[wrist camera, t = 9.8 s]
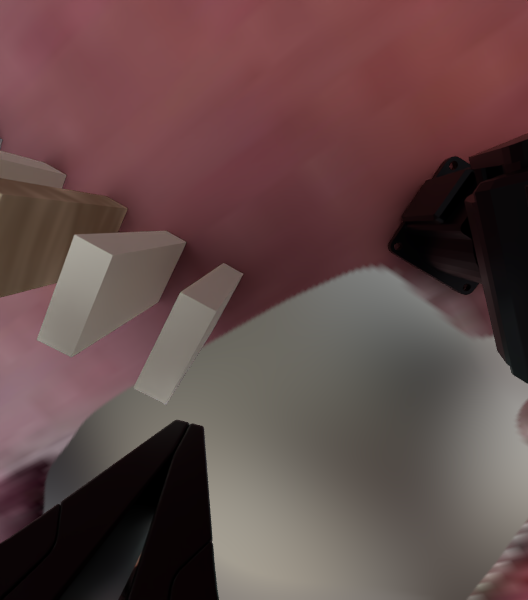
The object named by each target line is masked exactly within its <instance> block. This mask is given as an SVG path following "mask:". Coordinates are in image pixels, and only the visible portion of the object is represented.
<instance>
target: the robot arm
mask: <svg viewBox="0 0 528 600" xmlns="http://www.w3.org/2000/svg"><path fill="white" fill-rule="evenodd" d="M469 161H470V164H468V163H467V162H465V161H464V160H462V159H461V158H459V157H456V156H455V157H451V158H448V159H446V160H445V161H444V162H443V163H442V165H441V166H440V168H439V169H438V171H437V172H436V174H435V175H434V177H433V178H432V179H430V180H427V181H425V183H424V184H423V186H422V187H421V189H420V190H419V192H418V193H417V195H416V196H415V198H414V199H413V201H412V202H411V204H410V205H409V207H408V208H407V210H406V211H405V213H404V214H403V216H402V221H403V223H402V224H401V226H400V227H399V229H398V230H397V232H396V233H395V235H394V236H393V238H392V239H391V241H390V242H389V244H388V249H389V251H390V252H391V253H393V254H395V255H396V256H398V257H400V258H401V259H403V260H405V261H406V262H408V263H410V264H411V265H413V266H415V267H416V268H418V269H420V270H422V271H423V272H425V273H427V274H428V275H430V276H432V277H433V278H435V279H437V280H438V281H440V282H442V283H443V284H445V285H447V286H448V287H450V288H452V289H453V290H455V291H457V292H459V293H461V294H464V295H467V294H470V293H471V292H472V291H473V290H474V289H475V288H476V287H477V285H478V284H479V283H480V284H483V288H484V293H485V297H486V302H487V306H488V311H489V315H490V320H491V325H492V329H493V334H494V338H495V342H496V347H497V351H498V352H499V354H500V355H501V356H502V358H503V359H504V361H505V362H506V363H507V364H508V365H509V366H510V369H511V373H512V374H513V375H514V376H516V377H518V378H519V379H521V380H523V381H524V382H526V383H528V133H527V134H525V135H522V136H520V137H517V138H515V139H513V140H510V141H508V142H505V143H503V144H500V145H498V146H495V147H493V148H491V149H488V150H486V151H483V152H481V153H478V154H476V155H473V156H471V157H469ZM450 163H453V164H454V168H453V170H451V169H450V168H449V165H450ZM396 243H399V244H400V247H399V248H398V249H397V250H396V249H395V248H394V245H395V244H396ZM465 284H467V287H466V289H464V290H463V286H464V285H465ZM205 450H206V449H205V436H204V427H203V426H200V425H196V424H190V425H189V423H188V422H184V421H180V420H175V421H173V422H172V423H171V424H169V425H168V426H166V427H165V428H164V429H162V430H161V431H159V432H158V433H157V434H155V435H154V436H152V437H151V438H150V439H148V440H147V441H145V442H144V443H143V444H141V445H140V446H139V447H137V448H136V449H134V450H133V451H132V452H130V453H129V454H127V455H126V456H124V457H123V458H122V459H120V460H119V461H117V462H116V463H115V464H113V465H112V466H110V467H109V468H108V469H106V470H105V471H103V472H102V473H101V474H99V475H98V476H96V477H95V478H94V479H92V480H91V481H89V482H88V483H87V484H85V485H84V486H82V487H81V488H80V489H79V490H77V491H75V492H74V493H73V494H71V495H70V496H69V497H67V498H66V499H64V500H63V501H62V502H61V505H60V504H57V505H56V506H54V507H53V508H52V509H50V510H49V511H47V512H46V513H44V514H43V515H42V516H40V517H39V518H37V519H36V520H34V521H33V522H31V523H30V524H29V525H27V526H26V527H24V528H23V529H21V530H20V531H18V532H17V533H15V534H14V535H12V536H11V537H10V538H8V539H6V540H5V541H3V542H2V543H0V600H118V599H119V597H120V595H121V593H122V591H123V589H124V587H125V585H126V583H127V581H128V579H129V577H130V575H131V573H132V571H133V569H134V567H135V565H136V563H137V560H138V558H139V556H140V554H141V556H140V559H139V562H138V565H137V568H136V571H135V574H134V577H133V581H132V584H131V587H130V590H129V593H128V596H127V599H126V600H219V597H218V590H217V582H216V572H215V563H214V551H213V543H212V527H211V514H210V501H209V488H208V477H207V476H208V475H207V462H206V451H205ZM141 552H142V553H141Z"/></svg>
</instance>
